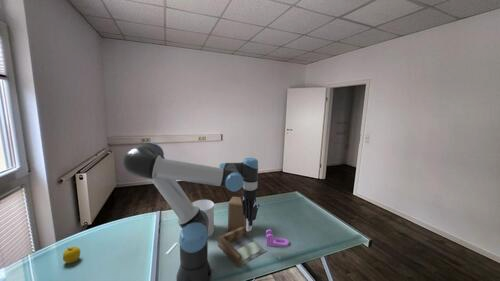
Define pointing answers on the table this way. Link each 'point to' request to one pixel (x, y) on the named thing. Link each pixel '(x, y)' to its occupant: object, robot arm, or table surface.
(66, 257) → the apple
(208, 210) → the container
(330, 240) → the table surface
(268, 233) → the bracket
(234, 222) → the wooden block
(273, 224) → the table surface
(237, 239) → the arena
